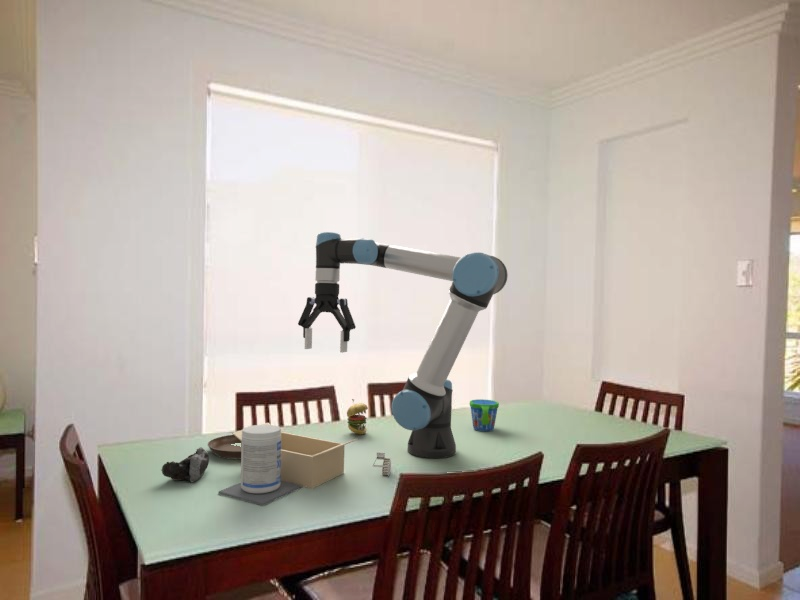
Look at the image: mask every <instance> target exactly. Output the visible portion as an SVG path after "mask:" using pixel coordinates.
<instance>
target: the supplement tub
mask: <svg viewBox="0 0 800 600" xmlns="http://www.w3.org/2000/svg"><path fill="white" fill-rule="evenodd" d="M281 429H282V428H281V426H278V425H273V424H271V425H261V424H254V425H253V424H252V425H249V426H246V427H243V428H242V429H241V430H242V442H241V459H240V462H241V463H240V483H241V488H242V489H243V490H244V491H246V492H248V493H253V494H261V493H268V492H272V491H274V490H276V489H278V488H279V486H280V483H281V432H282V431H281Z"/></svg>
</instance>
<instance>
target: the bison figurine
mask: <svg viewBox="0 0 800 600" xmlns="http://www.w3.org/2000/svg"><path fill="white" fill-rule="evenodd" d="M209 462H210V456H209V453H208V451H207V450H206V449H205V448H203V447H201V446H200V447H198V448H196V451H195V452H194V453H193V454H190V455H188V456H187V457H185V458H184V459H182V460H181V461H179V462H175V461H173V460H172V461H167V462H166V463H164V464H163V465H162V467H161V469H160V471H161V473H162V475H163V476H164V477H167V478H170V479H171V480H175V481H186V480H188V481H190V482H191V483H193V482H195V481H197V480H199V479H200V478H201V477H202V476H203V475H204V473H205V472H206V470H207V469H208V467H209Z"/></svg>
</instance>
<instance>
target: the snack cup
mask: <svg viewBox="0 0 800 600" xmlns="http://www.w3.org/2000/svg"><path fill="white" fill-rule="evenodd" d="M469 406H470V411H471V412H470V414H471V421H472V427H473V429H474V430H475V431H479V432H492V431H494V429H495V426H496V425H495V424H496V419H497V412H498V408H499V406H500V405H499V402H498V401H496V400H492V399H483V398H482V399H472V400H470V401H469Z"/></svg>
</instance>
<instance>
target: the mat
mask: <svg viewBox="0 0 800 600" xmlns="http://www.w3.org/2000/svg"><path fill="white" fill-rule="evenodd" d="M301 488H302V486H301V485H298V484H294V483H290V482H286V481H282V480H281V483H280V486H279V488H278V489H276V490H274V491H272V492H268V493H261V494H253V493H248V492H246V491H244V490H243V489H242V488H241V482H238V483H236V484H233V485H231V486H228V487H225V488H224V489H220V490H219V491H218V495H222V496H225V497H228V498H233V499H236V500H239V501H244V502H248V503H250V504H251V503H252V504H254V505H257V506H262V507H263V506H266V505H268V504H270V503H272V502H274V501H276V500H279V499H280V498H283V497H285V496H286V495H289V494H290V493H293V492H296V491H298V490H300V489H301Z"/></svg>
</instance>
